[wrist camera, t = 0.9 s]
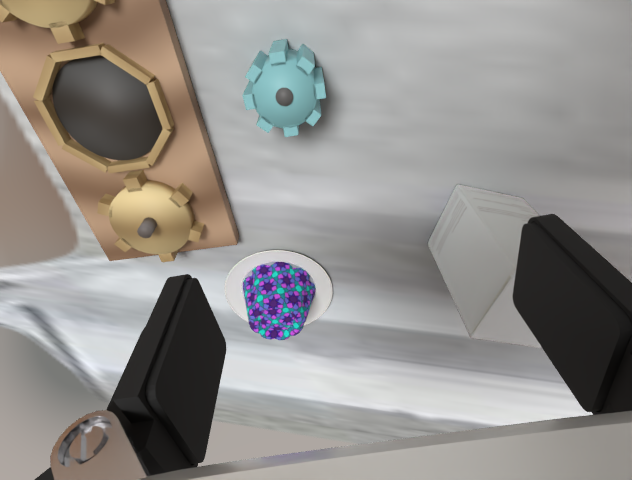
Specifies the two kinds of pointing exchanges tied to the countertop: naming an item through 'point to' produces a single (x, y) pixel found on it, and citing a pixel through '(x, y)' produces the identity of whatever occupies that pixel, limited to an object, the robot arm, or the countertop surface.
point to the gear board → (118, 121)
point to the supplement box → (483, 261)
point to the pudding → (278, 293)
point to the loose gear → (285, 88)
